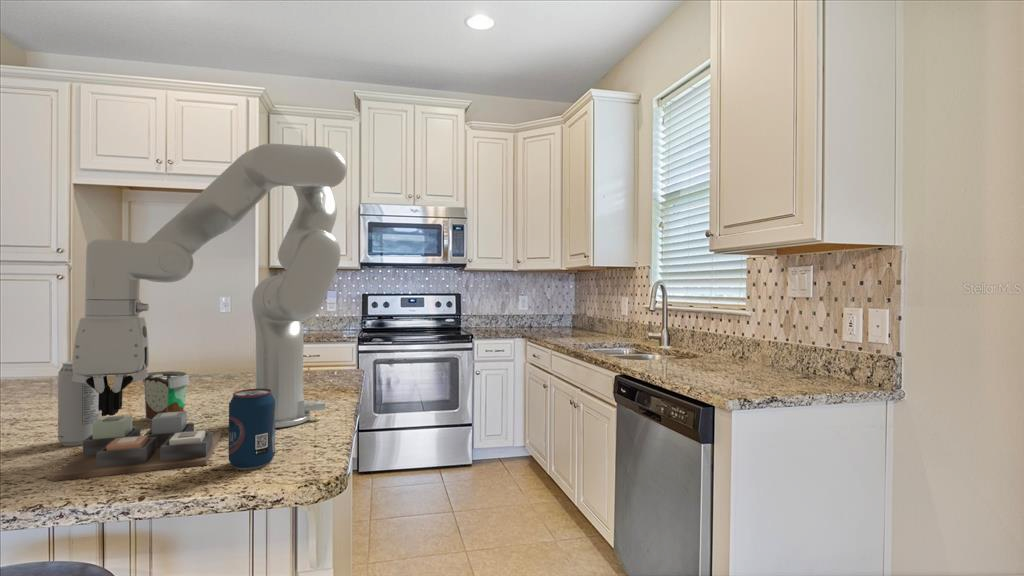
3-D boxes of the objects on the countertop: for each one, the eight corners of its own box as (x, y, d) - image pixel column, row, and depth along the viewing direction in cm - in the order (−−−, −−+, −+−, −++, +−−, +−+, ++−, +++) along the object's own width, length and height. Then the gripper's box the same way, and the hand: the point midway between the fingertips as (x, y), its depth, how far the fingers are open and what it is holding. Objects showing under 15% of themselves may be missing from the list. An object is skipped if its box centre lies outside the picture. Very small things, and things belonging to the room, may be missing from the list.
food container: (200, 420, 112) (201, 374, 112) (169, 426, 107) (169, 378, 106) (173, 412, 118) (173, 369, 118) (142, 418, 113) (142, 372, 113)
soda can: (221, 464, 85) (221, 392, 85) (263, 453, 90) (264, 385, 90) (239, 474, 80) (239, 398, 80) (282, 463, 86) (283, 391, 86)
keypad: (222, 434, 101) (222, 418, 101) (206, 464, 85) (206, 445, 85) (97, 445, 94) (97, 428, 94) (53, 481, 77) (53, 460, 77)
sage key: (132, 430, 93) (132, 413, 93) (124, 437, 89) (124, 420, 89) (102, 432, 92) (102, 416, 92) (92, 440, 88) (92, 422, 88)
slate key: (186, 425, 97) (186, 410, 97) (181, 432, 92) (181, 415, 92) (158, 428, 95) (158, 412, 95) (151, 434, 91) (151, 418, 91)
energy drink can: (75, 437, 99) (75, 359, 99) (108, 437, 99) (108, 359, 99) (49, 447, 93) (49, 364, 93) (84, 446, 93) (84, 364, 93)
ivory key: (205, 446, 91) (205, 429, 91) (200, 454, 87) (200, 436, 87) (175, 449, 89) (175, 431, 89) (169, 457, 85) (169, 439, 85)
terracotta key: (148, 451, 88) (148, 434, 88) (140, 460, 83) (140, 441, 83) (116, 454, 86) (116, 436, 86) (106, 463, 82) (106, 444, 82)
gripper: (167, 309, 96) (165, 406, 96) (68, 308, 91) (66, 412, 91) (157, 311, 90) (154, 416, 89) (49, 310, 84) (46, 422, 84)
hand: (110, 413), depth 90 cm, fingers closed
